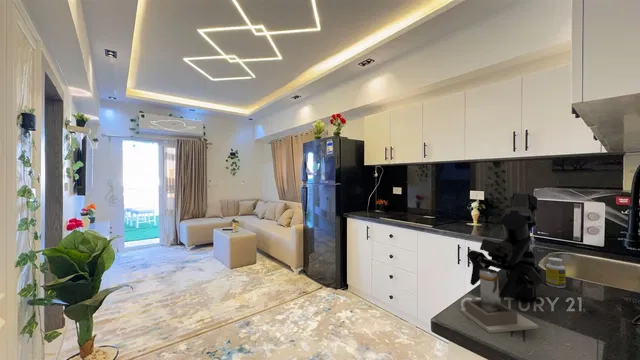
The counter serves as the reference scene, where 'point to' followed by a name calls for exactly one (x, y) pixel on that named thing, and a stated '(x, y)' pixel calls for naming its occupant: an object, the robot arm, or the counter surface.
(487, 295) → the grey metal tumbler
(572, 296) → the counter surface
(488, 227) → the counter surface
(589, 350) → the counter surface
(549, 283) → the supplement bottle
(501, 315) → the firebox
